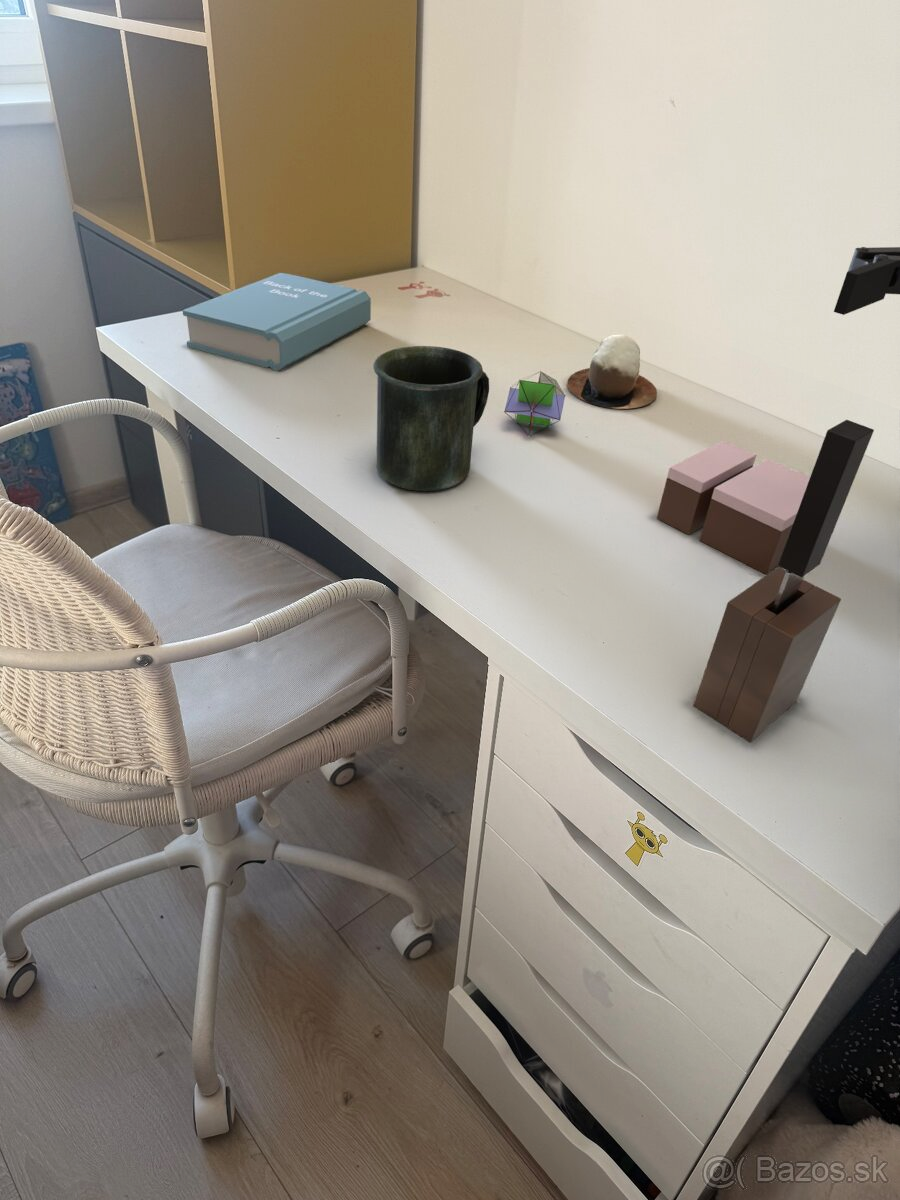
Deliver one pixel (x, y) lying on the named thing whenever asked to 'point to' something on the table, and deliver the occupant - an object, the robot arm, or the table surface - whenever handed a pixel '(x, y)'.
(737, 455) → the cake slice
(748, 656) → the knife block
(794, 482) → the cake
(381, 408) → the mug
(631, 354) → the hat
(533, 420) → the geometric puzzle
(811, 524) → the knife
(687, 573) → the table surface
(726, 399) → the table surface
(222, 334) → the book
